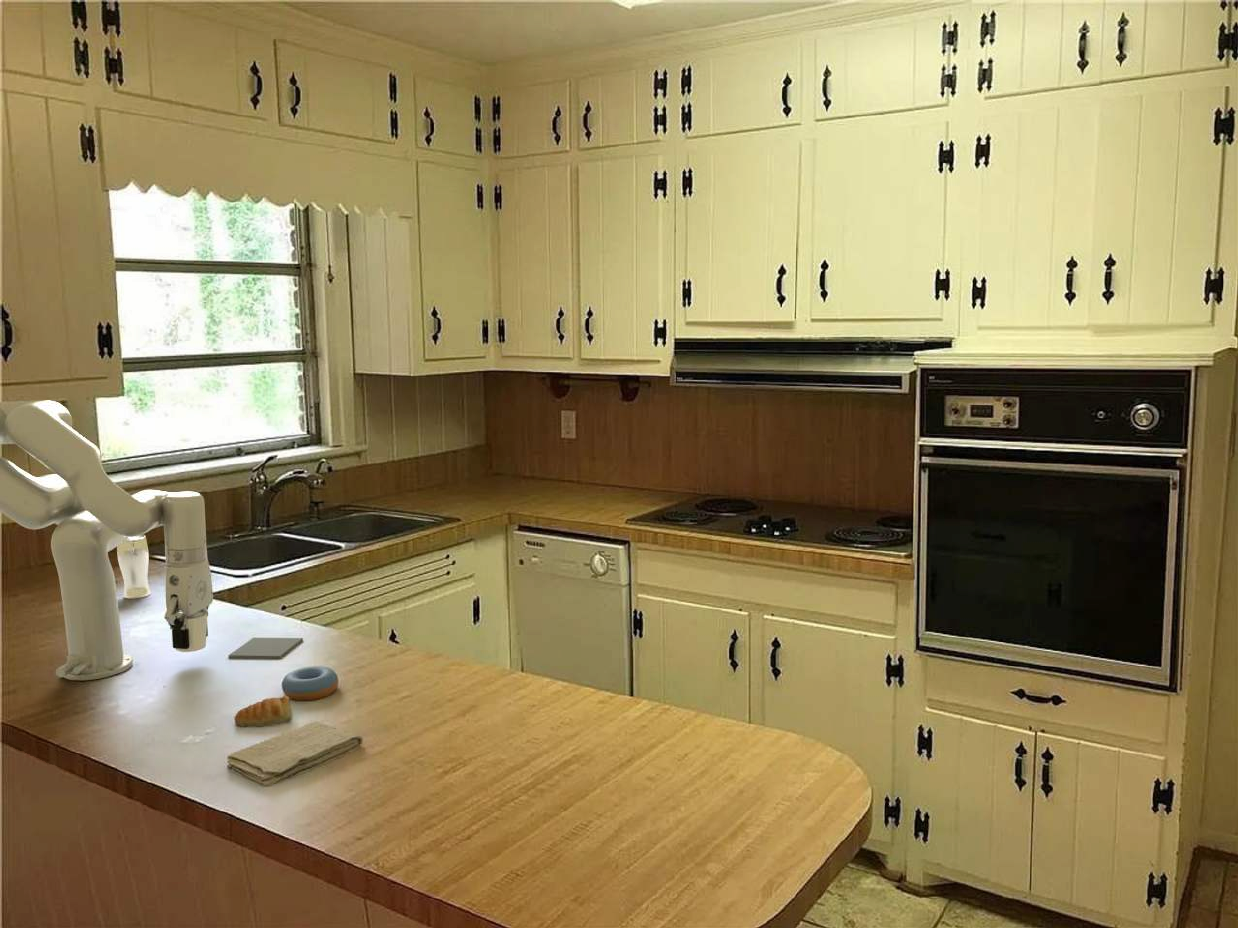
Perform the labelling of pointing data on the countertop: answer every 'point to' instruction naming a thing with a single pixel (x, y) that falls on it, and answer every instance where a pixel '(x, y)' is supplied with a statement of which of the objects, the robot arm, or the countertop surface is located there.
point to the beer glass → (134, 566)
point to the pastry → (265, 713)
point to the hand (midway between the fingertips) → (190, 641)
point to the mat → (266, 648)
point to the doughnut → (310, 683)
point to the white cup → (196, 631)
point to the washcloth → (292, 753)
